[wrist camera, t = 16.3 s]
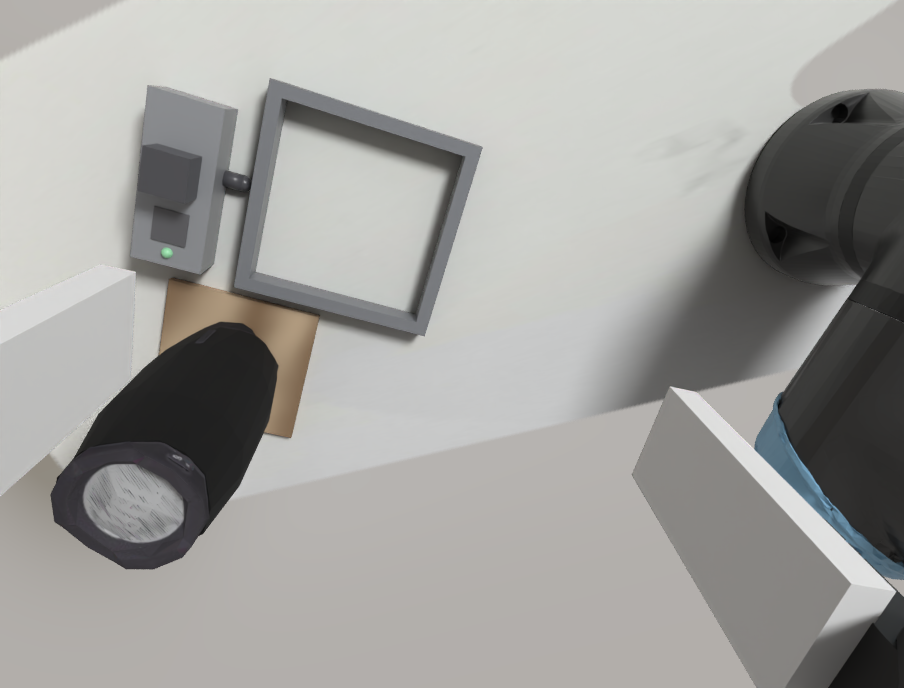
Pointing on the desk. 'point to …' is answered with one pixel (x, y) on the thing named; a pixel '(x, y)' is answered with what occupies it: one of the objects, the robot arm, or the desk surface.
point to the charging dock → (260, 198)
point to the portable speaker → (169, 448)
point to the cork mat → (270, 322)
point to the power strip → (194, 137)
